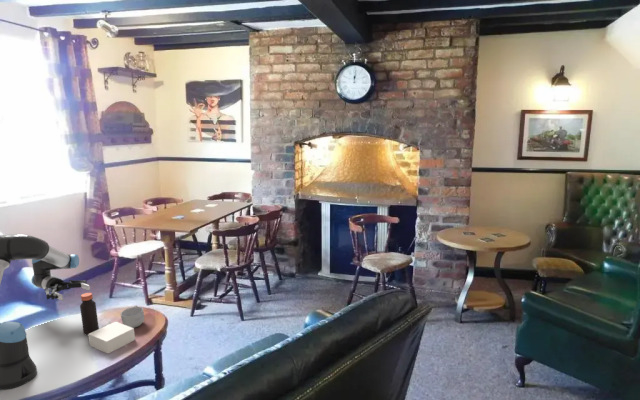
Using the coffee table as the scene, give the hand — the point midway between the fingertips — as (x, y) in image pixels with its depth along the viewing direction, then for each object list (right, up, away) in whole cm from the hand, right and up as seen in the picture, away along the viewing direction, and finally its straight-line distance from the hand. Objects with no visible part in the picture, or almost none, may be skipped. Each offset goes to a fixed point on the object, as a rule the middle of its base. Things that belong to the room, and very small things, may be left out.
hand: (76, 292), depth 216 cm
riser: (+24, -21, -12) cm, 35 cm away
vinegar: (+9, -19, -2) cm, 21 cm away
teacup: (+27, -18, +6) cm, 33 cm away
